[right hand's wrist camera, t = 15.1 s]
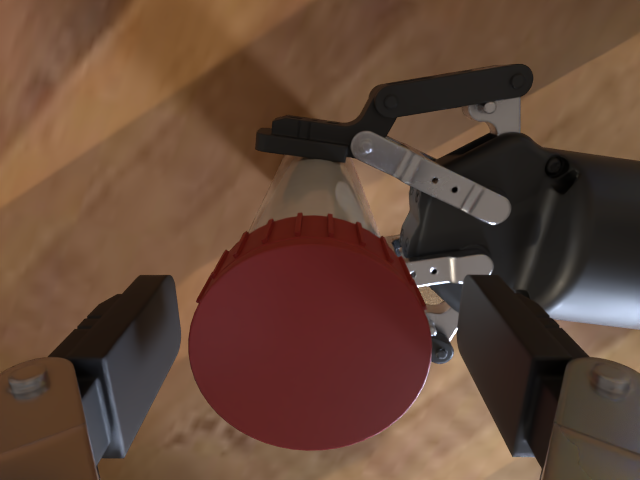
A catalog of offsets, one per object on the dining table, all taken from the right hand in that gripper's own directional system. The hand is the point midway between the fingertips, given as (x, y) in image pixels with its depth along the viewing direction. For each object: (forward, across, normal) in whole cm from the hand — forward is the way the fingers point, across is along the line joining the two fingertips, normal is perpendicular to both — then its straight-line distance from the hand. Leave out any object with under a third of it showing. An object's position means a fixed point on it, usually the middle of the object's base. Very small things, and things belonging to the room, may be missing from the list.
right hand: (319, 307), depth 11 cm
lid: (-2, 0, 0) cm, 2 cm away
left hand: (+9, -3, +1) cm, 9 cm away
